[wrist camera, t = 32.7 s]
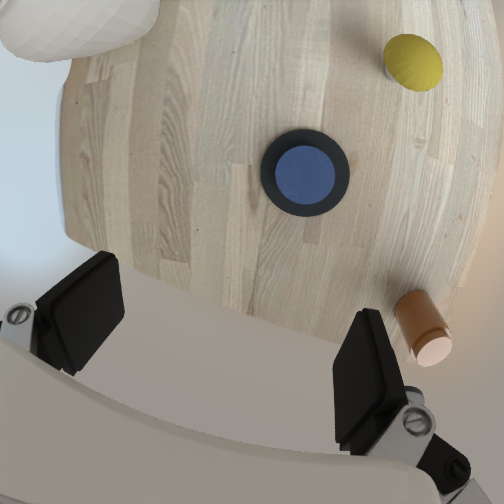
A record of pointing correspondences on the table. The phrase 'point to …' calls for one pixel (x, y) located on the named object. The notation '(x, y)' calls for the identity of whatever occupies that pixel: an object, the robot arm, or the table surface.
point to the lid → (305, 174)
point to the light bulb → (412, 62)
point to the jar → (423, 328)
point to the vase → (73, 26)
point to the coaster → (312, 140)
